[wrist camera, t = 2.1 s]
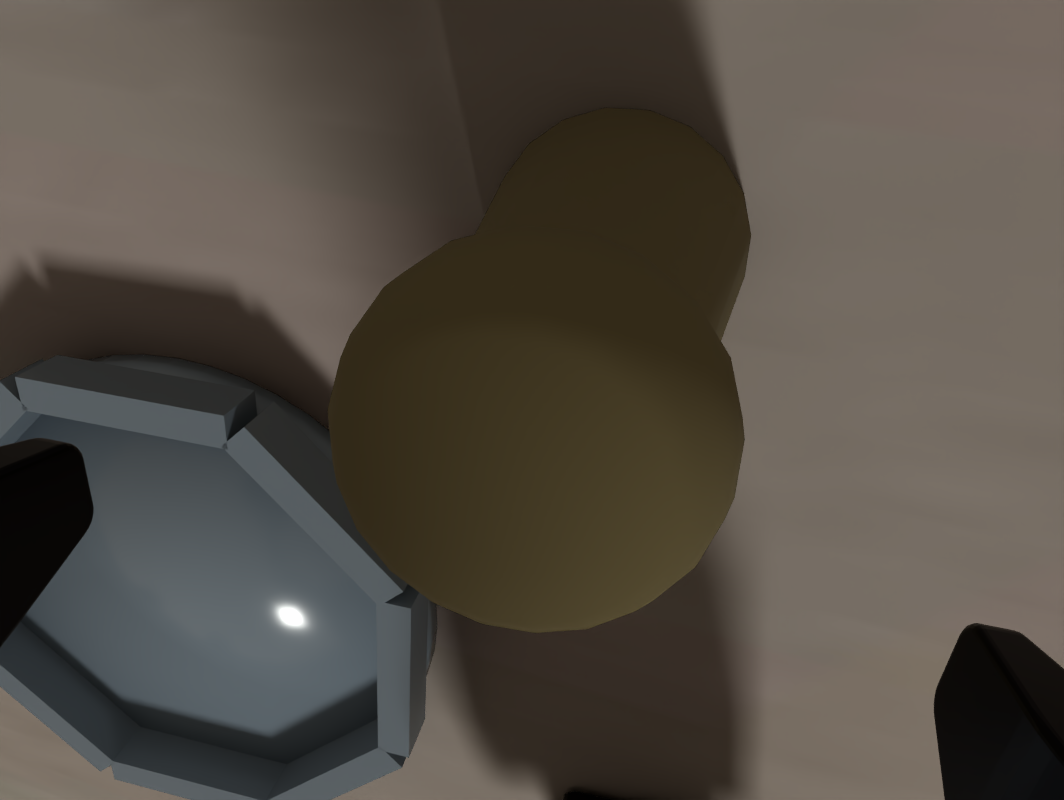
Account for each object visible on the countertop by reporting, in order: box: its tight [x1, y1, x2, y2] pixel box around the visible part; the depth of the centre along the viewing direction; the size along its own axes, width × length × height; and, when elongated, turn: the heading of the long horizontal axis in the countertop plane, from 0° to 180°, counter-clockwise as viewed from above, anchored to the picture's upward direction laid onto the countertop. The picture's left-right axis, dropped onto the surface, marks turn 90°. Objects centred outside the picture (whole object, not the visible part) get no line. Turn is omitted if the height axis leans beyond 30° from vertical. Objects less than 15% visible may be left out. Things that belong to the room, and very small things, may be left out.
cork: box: [327, 108, 751, 633], centre depth 13 cm, size 6×6×11 cm
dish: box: [0, 354, 437, 800], centre depth 25 cm, size 16×16×2 cm
